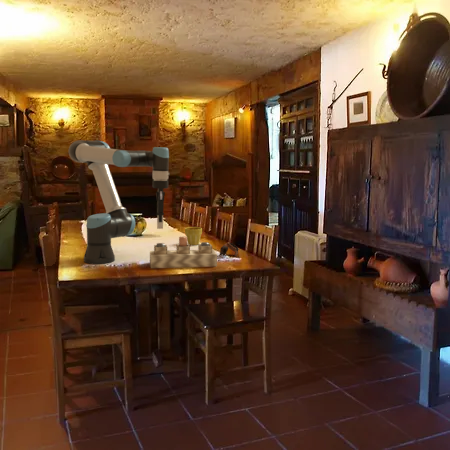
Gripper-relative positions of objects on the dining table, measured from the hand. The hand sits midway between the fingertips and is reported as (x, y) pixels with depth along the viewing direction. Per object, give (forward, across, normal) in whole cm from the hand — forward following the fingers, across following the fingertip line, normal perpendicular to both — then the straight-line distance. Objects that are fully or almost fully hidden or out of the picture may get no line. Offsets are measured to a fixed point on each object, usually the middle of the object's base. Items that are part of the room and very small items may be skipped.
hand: (160, 228), depth 242 cm
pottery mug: (+18, +17, -38) cm, 45 cm away
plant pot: (+19, +52, -24) cm, 61 cm away
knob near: (+12, 0, 0) cm, 12 cm away
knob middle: (+9, 0, -11) cm, 14 cm away
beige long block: (+18, 0, -12) cm, 21 cm away
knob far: (+12, 0, -22) cm, 25 cm away
